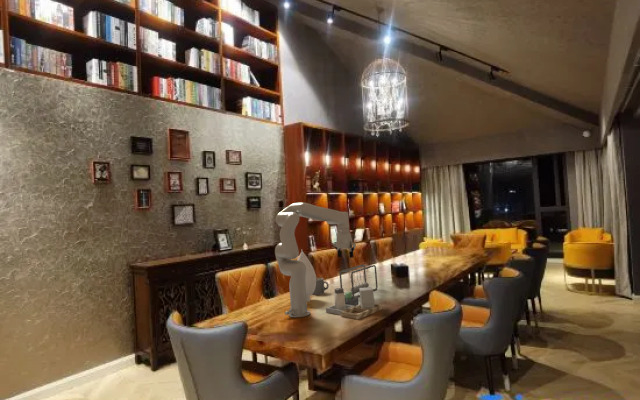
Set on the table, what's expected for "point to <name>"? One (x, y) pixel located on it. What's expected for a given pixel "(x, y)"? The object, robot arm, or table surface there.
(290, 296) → the robot arm
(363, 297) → the supplement box
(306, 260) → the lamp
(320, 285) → the coffee mug
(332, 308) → the frame
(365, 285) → the newton's cradle
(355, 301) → the grey square holder
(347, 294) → the button
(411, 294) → the table surface
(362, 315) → the wooden frame with crossbar
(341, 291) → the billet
